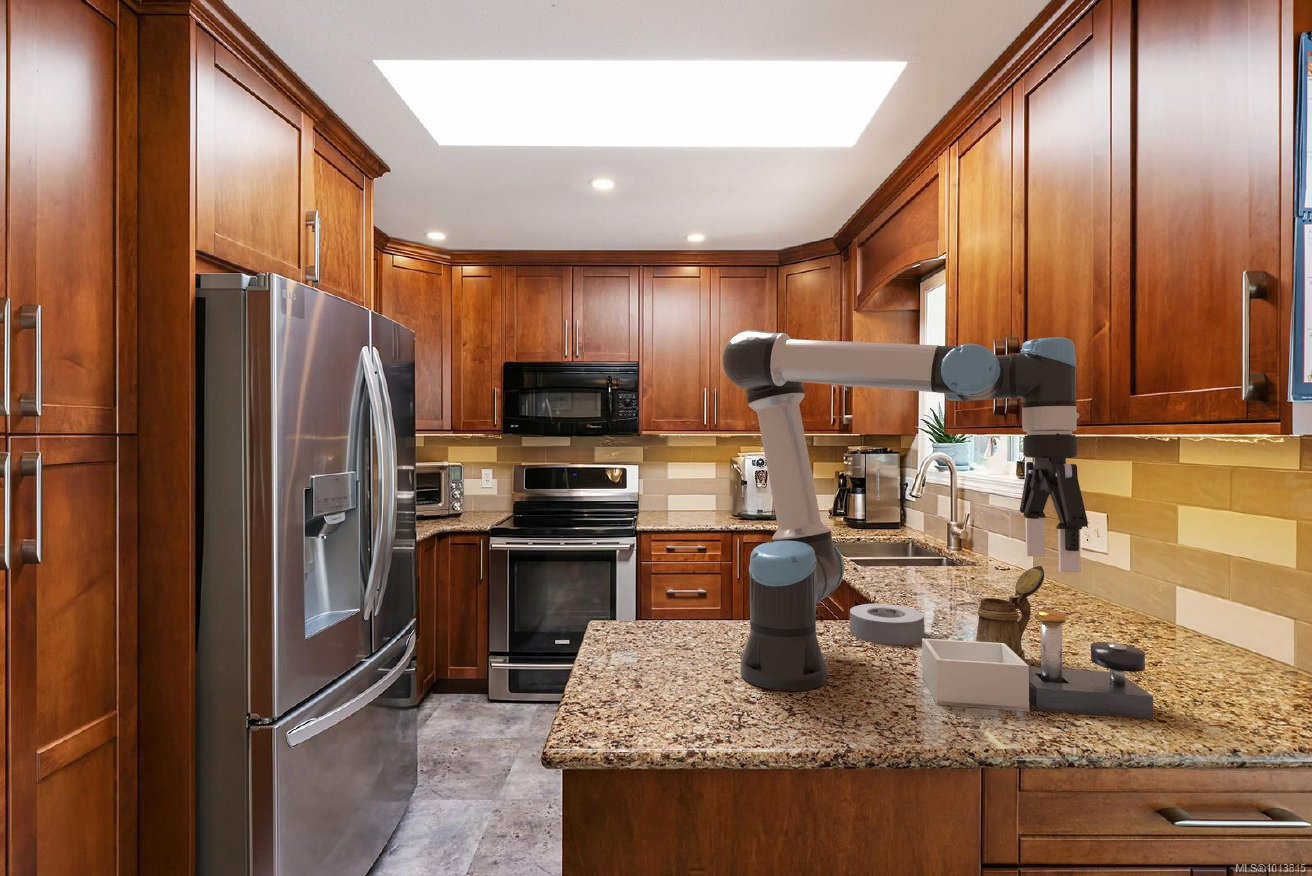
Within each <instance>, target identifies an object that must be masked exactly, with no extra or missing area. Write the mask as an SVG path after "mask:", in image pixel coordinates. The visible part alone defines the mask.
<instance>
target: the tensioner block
mask: <svg viewBox="0 0 1312 876" xmlns="http://www.w3.org/2000/svg"><path fill="white" fill-rule="evenodd" d="M1090 661H1091V663H1093V664H1094V665H1097V666H1099V667H1102V668H1105V669H1109V671H1098V670H1081V669H1066V668H1063V683H1054V682H1043V681H1042V680H1041V667H1038V666H1034V667H1033V666H1029V705H1031V706H1032V707H1033V708H1034V710H1035V711H1036V712H1037V711H1040V712H1049V713H1050V712H1052V713H1064V714H1078V715H1090V716H1092V715H1093V716H1105V717H1115V718H1117V717H1118V718H1127V719H1140V720H1141V719H1142V720H1143V719H1144V720H1154V696H1153V695H1152V694H1150V693H1149V692H1147V691H1146V690H1145V689H1144V688H1142V687H1140V686H1139V685H1137V684H1136V683H1135V682H1133V681H1132V680H1130V679H1129V678H1127V677H1126V672H1128V673H1135V672H1136V673H1139V672H1143V671H1145V670H1146V653H1145V651H1144V650H1142V649H1141V648H1138V647H1135V646H1132V645H1130V644H1129V645H1128V644H1124V643H1118V642H1111V641H1110V642H1109V641H1096V642H1092V643H1091V644H1090Z"/></svg>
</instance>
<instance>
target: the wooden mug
mask: <svg viewBox="0 0 1312 876" xmlns="http://www.w3.org/2000/svg"><path fill="white" fill-rule="evenodd" d="M1044 580H1045V571H1044V567H1043V566H1042V565H1037V566H1033V567H1031V568H1029V569H1027V570H1025V571H1023V572H1022V573H1021V574H1020V575H1019V577H1018V579H1017V581H1016V582H1015V583H1016V584H1015V594H1014V595H1013V596H1009V598H1008V600H1006V599H1002V598H997V597H995V598H994V597H983V598H981V599H980V605H979V606H978V609H977V616H978V624H977V629H976V635H975V637H976V638H975V642H992V643H1005V644H1006V645H1007V646H1008V647H1009V648H1010V649H1011V650H1012V651H1013V652H1014V653H1015V654H1016V655H1017V656H1019V657H1020V658H1021V659H1022V660H1023V661H1024V662H1025V663H1026V664H1027V662H1026V658H1025V656H1026V655H1025V651H1024V650H1023V648H1022V637H1023V634H1024V633H1025V630H1026V628H1027V627H1028V624H1029V621H1030V619H1031V613H1032V612H1031V604H1030V601H1029V599H1028V597H1030V596H1031V595H1034V594H1035V593H1037V591H1038V590H1039V589H1040V587H1041V586H1043V582H1044ZM1017 610H1019V611H1020V615H1021V616H1020V615H1019V612H1018V611H1017Z"/></svg>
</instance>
